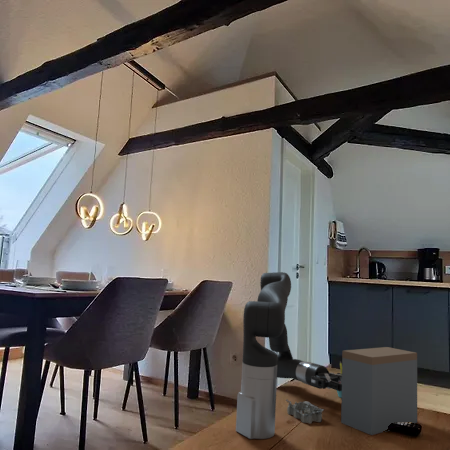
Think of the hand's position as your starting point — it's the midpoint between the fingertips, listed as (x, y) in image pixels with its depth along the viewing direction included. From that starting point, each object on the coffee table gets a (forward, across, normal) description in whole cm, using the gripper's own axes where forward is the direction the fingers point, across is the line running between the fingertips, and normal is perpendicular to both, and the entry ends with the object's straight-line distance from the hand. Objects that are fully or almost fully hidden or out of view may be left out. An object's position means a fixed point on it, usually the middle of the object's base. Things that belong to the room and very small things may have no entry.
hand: (350, 386), depth 127 cm
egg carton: (-3, -17, +8) cm, 19 cm away
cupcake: (-11, +12, +8) cm, 18 cm away
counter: (+11, 0, +8) cm, 13 cm away
